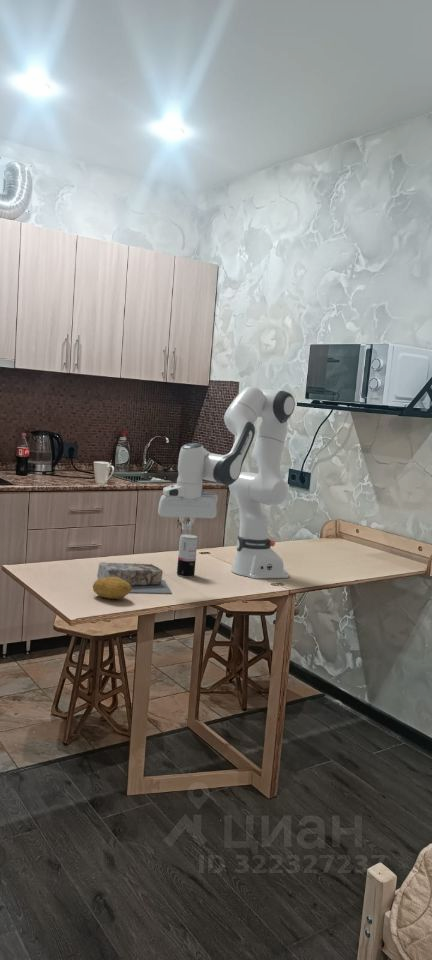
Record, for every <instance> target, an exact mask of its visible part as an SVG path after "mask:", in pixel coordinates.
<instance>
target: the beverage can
mask: <svg viewBox="0 0 432 960" xmlns="http://www.w3.org/2000/svg"><path fill="white" fill-rule="evenodd" d="M197 546H198V536H197V535H195V534H191V533H190V534H188V533H187V534H186V533H185V534H180V537H179V544H178V554H177V555H178V558H177V566H176V567H177V568H176V574H177V576H179V577H181V578H192V577H194V576H195V571H196V560H197V549H198V547H197Z"/></svg>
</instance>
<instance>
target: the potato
mask: <svg viewBox="0 0 432 960" xmlns="http://www.w3.org/2000/svg"><path fill="white" fill-rule="evenodd" d="M92 589H93V590H92V591H93V592H94V593H95V594H96V595H97V596H99V597H101V598H106V599H109V600H114V599H115V600H117V599H121V598H125V597H126V596H127V595H128V594H129V595H130V593H129V592H130V591H131V586H130V584H129V583H128V582H126V581H124V580H122V579H121V578H119V577H104V578H100V579H98V578H97V580H96V581H94V582H93V585H92Z"/></svg>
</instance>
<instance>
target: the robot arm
mask: <svg viewBox="0 0 432 960" xmlns="http://www.w3.org/2000/svg"><path fill="white" fill-rule="evenodd" d="M295 404H296V403H295V397H294V396H293V395H292V393H290V392H288V391H286V390H278V389H274V388H258V387H256V386H253V385H251V386H246V387H245V388H243V389H242V390H241V391H240V392H239V393H238V394H237V395H236V396H235V397H234V399H233V400H232V402H231V403H230V405H229V406H228V408H227V409H226V411H225V413H224V416H223V420H224V424H225V427H226V428H227V429H228V431H229V432H230V433H231V434H232V435H233V436H236V439H234V440H235V441H234V443H233V445H232V448H231V449H230V452H228V453H226V454H219V453H218V454H217V453H214V452H213V453H212V452H210V451H208V450H207V449H206V448H204V445H203V444H201V443H197V442H188V443H185V444H183V445H182V446H181V447H180V451H179V454H178V460H177V461H178V462H177V471H178V475H177V479H176V483H175V484H171V485H167V486H165V487H163V488H162V493H163V494H162V495H161V496H160V499H159V503H158V508H157V514H158V515H159V516H160V517H163V518H178V520H179V522H180V524H181V530H182V531H191V530H192V525H193V524H194V523H195V521H196V519H198V518H199V519H215V518H216V517H217V513H218V510H217V503H218V501H219V495H218V494H217V493H216V492H215V491H213V490H212V491H205V490H203V480H205V481H210V482H216V483H218V484H221V485H224V486H228V488H229V492H230V493H231V495H232V496H233V497H234V499H235V501H236V503H237V507H238V511H239V531H238V535H237V539H236V554H235V557H234V562H233V566H232V567H231V572H232V573H234V574H237V575H239V576H245V577H248V578H252V579H258V580H259V579H282V578H283V579H284V578H285V579H287V578H289V577H290V573H289V572H288V570H286V569H285V567H284V561H283V558H282V557H281V556H280V555H279V554H278V553H277V552H275V550H273V549H272V548H271V547H275V546H276V542H275V541H274V540H271V539H269V538H268V531H269V520H270V519H269V517H268V516H267V514H266V513H265V512H264V510H263V509H262V506H261V504H262V505H268V506H276V505H278V506H279V505H281V504H282V503H284V502H285V500H286V499H287V497H288V493H289V491H288V490H289V489H288V488H289V487H288V485H287V483H286V482H285V480H284V478H283V476H282V472H281V460H282V454H283V449H284V446H285V442H286V439H287V438H286V437H287V431H288V420H289V419H290V417H291V416H292V414H293V413H294V410H295V406H296V405H295ZM258 418H261V423H260V426H259V428H258V431H257V435H256V427H255V422H256V421H257V420H258ZM255 435H256V439H255V440H254V438H255ZM253 441H255V443H254V445H253V450H252V458H253V460H254V461H255V463H257V465H258V466H257V467H258V473H257V472H249V471H242V467H243V465H244V462H245V459H246V457H247V454H248V453H249V450H250V448H251V446H252V443H253ZM241 471H242V472H241ZM185 518H189V520H190V521H189V523H187V524H185V523H184V521H185Z"/></svg>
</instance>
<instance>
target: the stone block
mask: <svg viewBox="0 0 432 960" xmlns="http://www.w3.org/2000/svg"><path fill="white" fill-rule="evenodd" d="M163 574H164V572H163V570H162V569H161V568H159V567H157V566H156V565H154V564H152V563H149V564H148V563H134V562H133V563H128V562H127V563H126V562H124V563H123V562H122V563H121V562H118V563H117V562H106V561H105V562H99V565H98V569H97V580H98V579H100V578H104V577H119V578H121V579H122V580H124V581H126V582H128V583H129V584H130V586H135V585H152V584H161V581H162V580H163Z"/></svg>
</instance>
